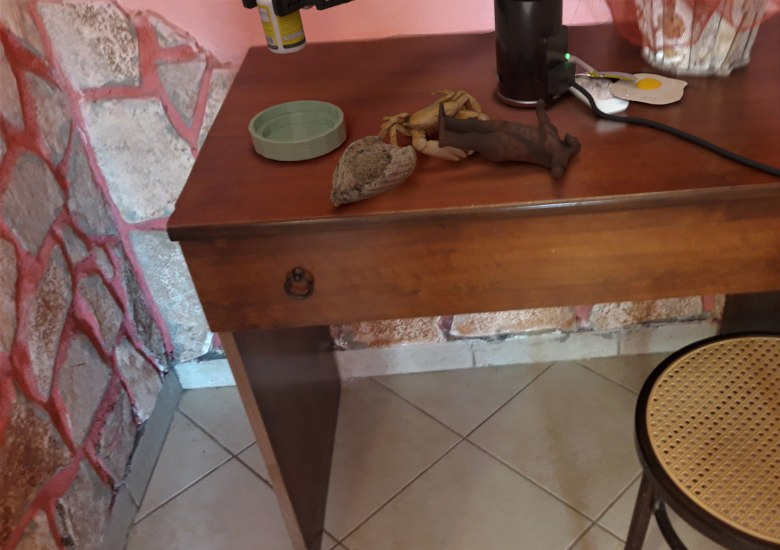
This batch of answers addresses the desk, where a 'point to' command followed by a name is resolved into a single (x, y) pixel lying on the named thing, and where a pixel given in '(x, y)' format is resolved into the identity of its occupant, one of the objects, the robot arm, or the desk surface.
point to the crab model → (433, 124)
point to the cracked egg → (649, 89)
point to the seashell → (371, 170)
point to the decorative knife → (613, 75)
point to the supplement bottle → (281, 29)
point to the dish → (298, 130)
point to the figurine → (510, 139)
